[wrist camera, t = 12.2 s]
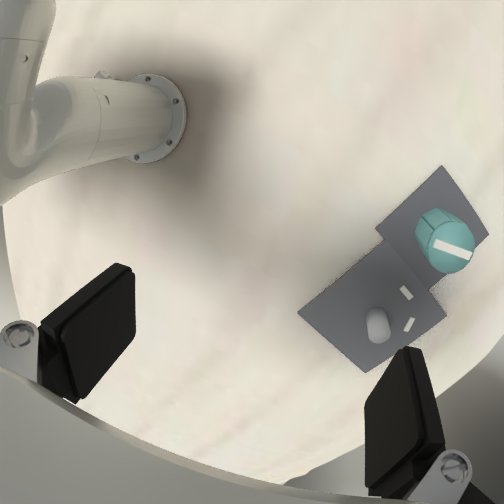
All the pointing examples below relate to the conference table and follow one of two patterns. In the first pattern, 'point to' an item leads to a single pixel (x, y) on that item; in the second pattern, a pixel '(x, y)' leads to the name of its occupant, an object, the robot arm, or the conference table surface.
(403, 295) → the post plate
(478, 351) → the conference table surface
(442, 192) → the mat
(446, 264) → the cap
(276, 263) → the conference table surface
